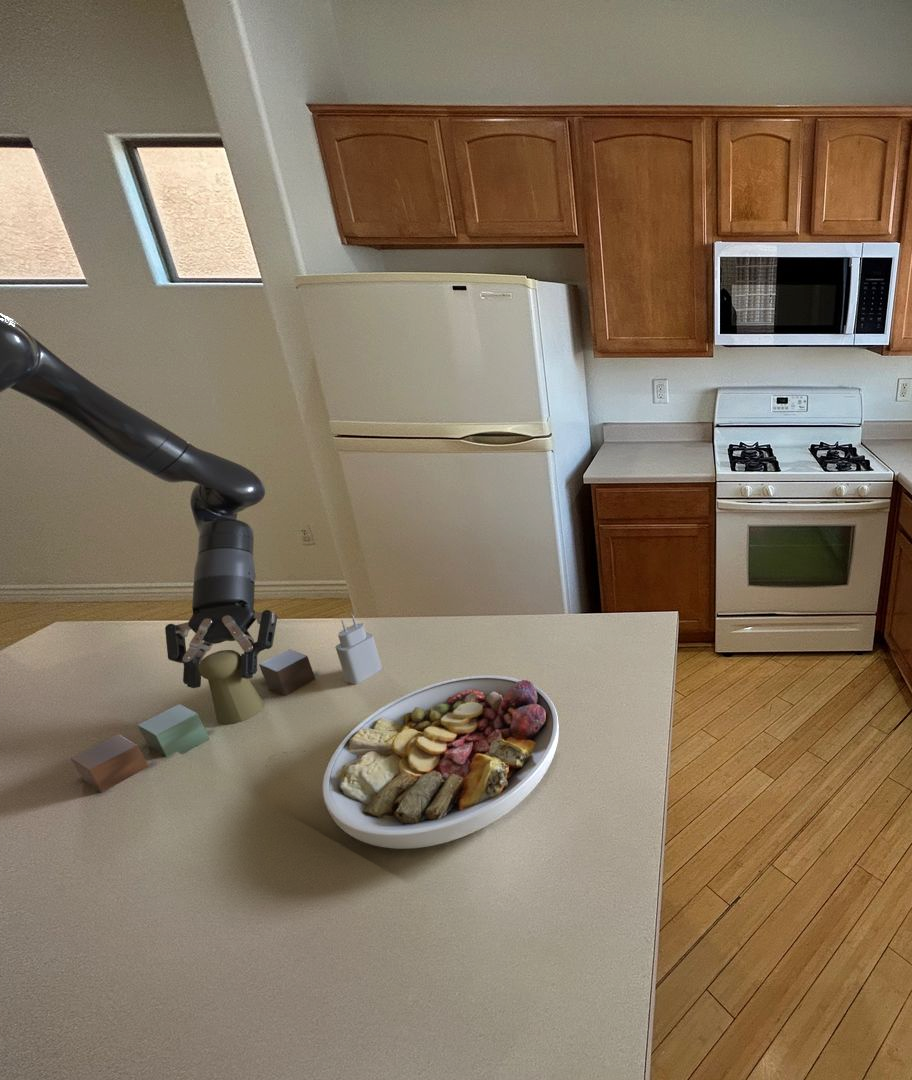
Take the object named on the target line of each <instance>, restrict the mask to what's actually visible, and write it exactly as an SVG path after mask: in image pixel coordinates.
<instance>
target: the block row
mask: <svg viewBox="0 0 912 1080" xmlns="http://www.w3.org/2000/svg"><path fill="white" fill-rule="evenodd" d="M258 666H259V669H260V671H261V674H262V676H263V679H264V682H265V684H266V687H267V689H270V690H272V691H273V692H276V693H279V694H281V695H283V696H288V695H290V694H291V693H294V692H295V691H297V690H299V689H300V688H302V687H304V686H305V685H308V684H309V683H311V682H313V681H314V680H316V677H315V674H314V671H313V667H312V665H311V662H310V660H309V656H308V655H306V654H304V653H302V652H299V651H296V650H293V649H291V648H289V649H287V650H285V651H283V652H281V653H279V654H277V655H274V656H273V657H271V658H269V659H266V660H265V661H262V662H261V663H259V664H258ZM137 727H138V729H139V732H140V733H141V736H142V737H143V739H144V741H145V742H146V745H147V747H149V748H151V749H152V750H154V751H156V752H157V753H159V754H161V755H163V756H164V757H169V756H171V755H172V754H174V753H178V754H180V755H184V754H186V753H187V752H189V751H191V750H192V749H194V748H196V747H198V746H199V745H202V744H203V743H205V742H206V741H208V740H210V737H209V734H208V733H207V730H206V727H204V725H203V722H202V720H201V718H200V716H199V713H198V712H195V711H194V710H191V709H189V708H187V707H185V706H184V705H181V704H180V703H178V704H176V705H175V706H172V707H171V708H168V709H166V710H165V711H163V712H160V713H158V714H156V715H154V716H153V717H150V718H148V719H147V720H144V721H143V722H140V723H138V724H137ZM70 760H71V762H72V764H73V766H74V767H75V769H76V771H77V772H78V774H79V775H80V777H81V779H82V780H83V781H84V782H85V783H86V784H88V785H89V786H90V787H92V788H94V789H96V790H97V791H99V792H100V793H104V792H106V791H108V790H109V789H111V788H113V787H115V786H116V785H119V784H120V783H122V782H125V781H126V780H127V779H130V778H131V777H133V776H135V775H136V774H138V773H140V772H142V771H143V770H145V769H147V768H149V767H150V766H149V764H148V761H146V759H145V757H144V755H143V753H142V751H141V748H139V745H138V744H136V743H135V742H133V741H132V740H129V739H128V738H126V737H125V736H122V735H121V734H117V735H114V736H113V737H110V738H109V739H107V740H104V741H103V742H101V743H98V744H97V745H95V746H92V747H91V748H88V749H86V750H84V751H83V752H80V753H78V754H76V755H74V756H73V757H70Z"/></svg>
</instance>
